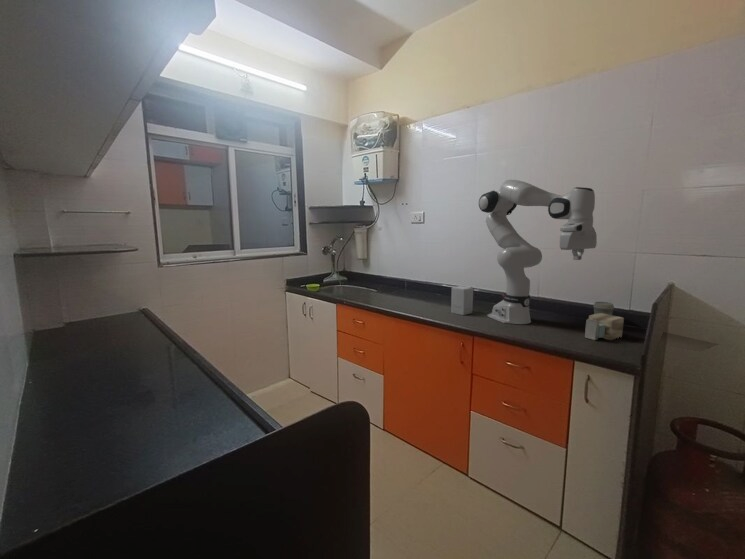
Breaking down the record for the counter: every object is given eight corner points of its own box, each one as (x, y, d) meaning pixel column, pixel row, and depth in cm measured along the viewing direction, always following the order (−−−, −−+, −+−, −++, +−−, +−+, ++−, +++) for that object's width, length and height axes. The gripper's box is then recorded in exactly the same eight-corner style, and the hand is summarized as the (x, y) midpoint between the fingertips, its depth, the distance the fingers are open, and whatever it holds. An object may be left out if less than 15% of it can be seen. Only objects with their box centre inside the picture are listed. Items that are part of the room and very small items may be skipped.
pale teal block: (586, 334, 153) (588, 322, 152) (591, 333, 154) (592, 321, 153) (599, 337, 148) (600, 325, 147) (604, 336, 150) (605, 324, 149)
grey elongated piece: (584, 337, 151) (586, 319, 150) (607, 331, 160) (609, 314, 158) (595, 340, 147) (596, 321, 146) (618, 333, 156) (620, 316, 154)
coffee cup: (607, 325, 170) (609, 301, 168) (615, 330, 162) (618, 305, 160) (588, 324, 172) (590, 301, 170) (595, 329, 164) (597, 304, 162)
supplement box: (473, 313, 196) (473, 287, 194) (463, 315, 191) (464, 289, 188) (460, 310, 203) (460, 285, 201) (450, 312, 198) (451, 287, 195)
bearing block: (587, 334, 157) (588, 315, 155) (598, 331, 161) (600, 312, 160) (610, 340, 148) (612, 320, 147) (621, 337, 152) (624, 317, 151)
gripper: (587, 226, 149) (584, 258, 152) (557, 227, 140) (555, 260, 142) (602, 226, 144) (599, 259, 146) (572, 227, 135) (569, 261, 137)
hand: (577, 259), depth 144 cm, fingers closed
